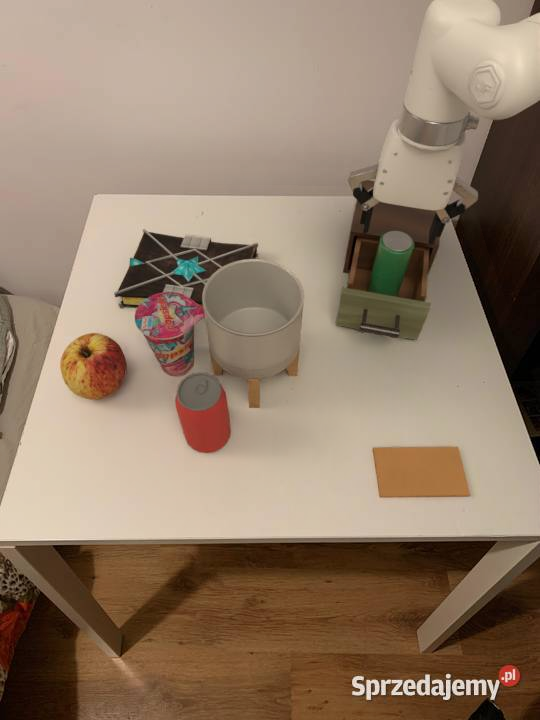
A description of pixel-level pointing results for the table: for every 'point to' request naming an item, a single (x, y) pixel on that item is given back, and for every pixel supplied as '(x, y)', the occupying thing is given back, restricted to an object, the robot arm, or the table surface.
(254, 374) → the planter
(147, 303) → the cup
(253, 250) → the book
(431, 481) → the mat
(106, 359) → the apple
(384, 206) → the cabinet
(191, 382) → the beer can
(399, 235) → the green can
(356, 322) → the drawer
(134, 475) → the table surface
